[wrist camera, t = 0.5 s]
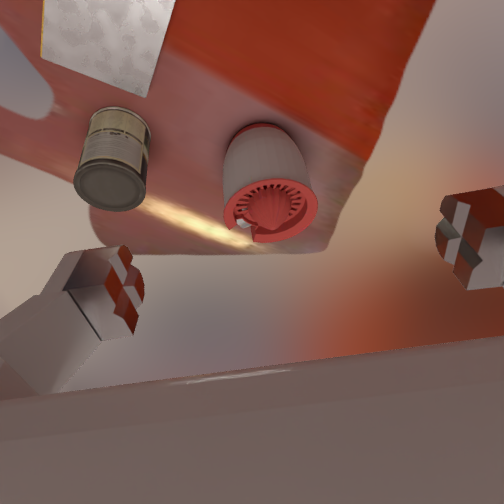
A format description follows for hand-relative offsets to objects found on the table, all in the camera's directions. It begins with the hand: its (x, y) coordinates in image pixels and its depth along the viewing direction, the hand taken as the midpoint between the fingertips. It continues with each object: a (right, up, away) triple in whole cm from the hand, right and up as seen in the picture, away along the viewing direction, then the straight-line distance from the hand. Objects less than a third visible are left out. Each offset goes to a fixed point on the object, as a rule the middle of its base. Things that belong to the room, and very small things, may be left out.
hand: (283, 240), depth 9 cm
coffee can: (-24, +21, +52) cm, 61 cm away
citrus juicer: (0, +19, +59) cm, 62 cm away
